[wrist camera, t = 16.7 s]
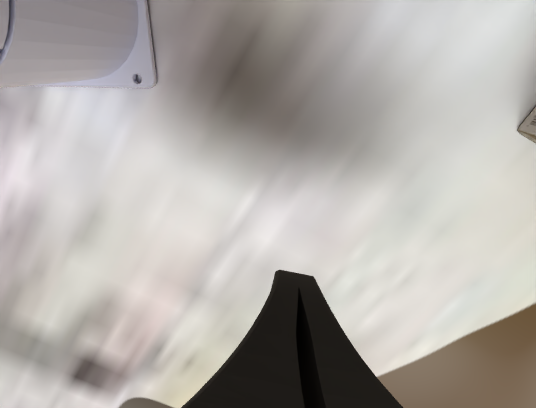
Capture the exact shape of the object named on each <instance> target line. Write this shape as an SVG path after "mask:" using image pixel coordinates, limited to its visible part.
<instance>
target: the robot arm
mask: <svg viewBox="0 0 536 408" xmlns="http://www.w3.org/2000/svg"><path fill="white" fill-rule="evenodd" d="M137 74H138V75H140V76H141V79H142V81H141V83H138V82H137V81H136V75H137ZM156 82H157V78H156V70H155V61H154V53H153V45H152V37H151V29H150V21H149V13H148V5H147V0H0V88H7V87H18V86H56V87H102V88H152V87H154V86H155V85H156ZM181 408H403V407H402V406H401V405H400V404H399V403H398V402H397V400H396V399H395V398H394V397H393V396H392V395H391V394H390V392H389V391H388V390H387V389H386V388H385V387H384V386H383V384H382V383H381V382H380V381H379V380H378V379H377V377H376V376H375V375H374V374H373V372H372V371H371V370H370V368H369V367H368V366H367V364H366V363H365V362H364V361H363V359H362V358H361V357H360V355H359V354H358V352H357V351H356V350H355V348H354V347H353V345H352V344H351V342H350V341H349V339H348V338H347V336H346V334H345V333H344V331H343V330H342V328H341V326H340V325H339V323H338V321H337V320H336V318H335V316H334V314H333V313H332V311H331V309H330V307H329V305H328V304H327V302H326V300H325V298H324V296H323V294H322V292H321V290H320V288H319V286H318V284H317V282H316V280H315V278H314V277H313V276H309V275H304V274H299V273H294V272H288V271H283V270H278V271H276V272H275V276H274V280H273V284H272V288H271V292H270V294H269V296H268V298H267V300H266V302H265V304H264V307H263V308H262V310H261V312H260V314H259V315H258V317H257V319H256V320H255V322H254V324H253V325H252V327H251V328H250V330H249V331H248V333H247V334H246V336H245V337H244V339H243V340H242V341H241V343H240V344H239V346H238V347H237V348H236V349H235V351H234V352H233V353H232V354H231V356H230V357H229V358H228V359H227V361H226V362H225V363H224V364H223V365H222V367H221V368H220V369H219V370H218V371H217V372H216V373H215V374H214V375H213V376H212V378H211V379H210V380H209V381H208V382H207V383H206V384H205V385H204V386H203V387H202V388H201V389H200V390H199V391H198V392H197V393H196V394H195V395H194V396H193V397H192V398H191V399H190V400H189V401H188V402H187V403H186V404H185V405H183V406H182V407H181Z"/></svg>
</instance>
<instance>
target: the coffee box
mask: <svg viewBox="0 0 536 408" xmlns="http://www.w3.org/2000/svg"><path fill="white" fill-rule="evenodd" d="M518 132H519V133H520V134H521V135H523V136H524V137H526V138H528V139H529V140H531V141H533V142H535V143H536V107H535V108H534V110H533V111H532V112H531V113H530V115H529V116H528V117H527V118H526V119H525V121H524V122H523V123H522V124H521V126H520V127H519V129H518Z"/></svg>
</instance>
